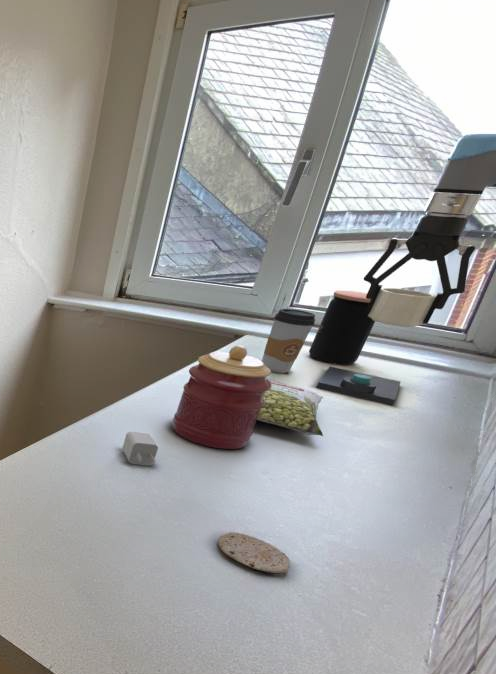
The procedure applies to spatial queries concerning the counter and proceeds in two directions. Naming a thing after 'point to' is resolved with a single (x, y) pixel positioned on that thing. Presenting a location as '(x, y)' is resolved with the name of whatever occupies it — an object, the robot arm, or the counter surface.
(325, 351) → the coffee jar
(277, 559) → the flatbread
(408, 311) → the bowl
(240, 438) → the kitchen canister
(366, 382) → the button
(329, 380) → the scale
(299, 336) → the coffee cup
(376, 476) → the counter surface
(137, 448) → the usb wall charger
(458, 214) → the robot arm
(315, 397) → the frozen beans
